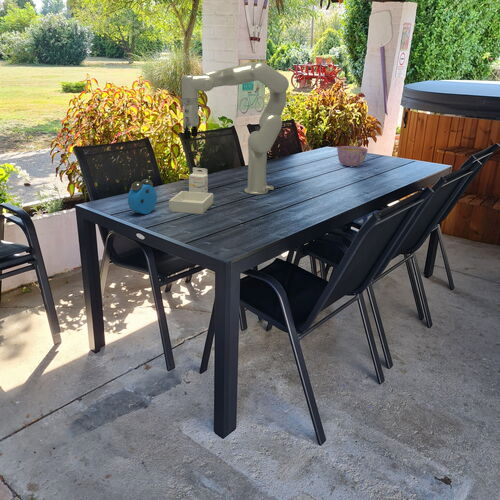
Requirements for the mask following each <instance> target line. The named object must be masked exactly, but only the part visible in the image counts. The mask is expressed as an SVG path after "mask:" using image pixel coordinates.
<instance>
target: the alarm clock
mask: <svg viewBox="0 0 500 500" xmlns="http://www.w3.org/2000/svg"><path fill="white" fill-rule="evenodd" d="M153 184H154V183H153V182H152V180H150V179H149V178H148V179H147V178H146V179H143V180H141V181H135V182H133V183H132V184H131V188H130V190H129V192H128V195H127V203H128V207H129V209H130V210H131V212H134V215H136V214H137V213H138V214H142V215H148V214H150V213H151V212H152V211H154V209H155V208H156V204H157V200H158V198H157V197H158V196H157V191H156V189H155V188H154V186H153Z"/></svg>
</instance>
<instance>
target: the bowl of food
mask: <svg viewBox="0 0 500 500" xmlns="http://www.w3.org/2000/svg"><path fill="white" fill-rule="evenodd" d="M336 149H337V157H338V161H339V162H340V164H341V165H346V166H357V167H358V166H361V165H362V164H363V163H364V161H365V159H366V156H367V153H368V151H369V150H368V148H366V147H362V146H356V145H355V146H354V145H353V146H352V145H342V146H338V147H336ZM346 166H345V167H346Z"/></svg>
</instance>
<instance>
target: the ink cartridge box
mask: <svg viewBox="0 0 500 500" xmlns="http://www.w3.org/2000/svg"><path fill="white" fill-rule="evenodd" d="M208 177H209V175H208V168H203V167H202V168H201V167H194V166H193V167H192V173H191V174H189V175H188V191H189V192H201V193H209V192H208V189H209V185H208V184H209V181H208V179H209V178H208Z"/></svg>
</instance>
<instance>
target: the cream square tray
mask: <svg viewBox="0 0 500 500" xmlns="http://www.w3.org/2000/svg"><path fill="white" fill-rule="evenodd" d="M213 204H214V193H213V192H208V193H201V192H189V190H188V191H187V190H181V191H179V192H178V193H177V194H176V195H174V196H173V197H172V198H170V199H169V200H168V211H169V212H174V213H175V212H176V213H183V214H184V213H185V214H186V213H187V214H196V215H198V214H200V215H203V214H204V213H205V212H206V211H207V210H208V209H209V208H210V207H212V206H213Z"/></svg>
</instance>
